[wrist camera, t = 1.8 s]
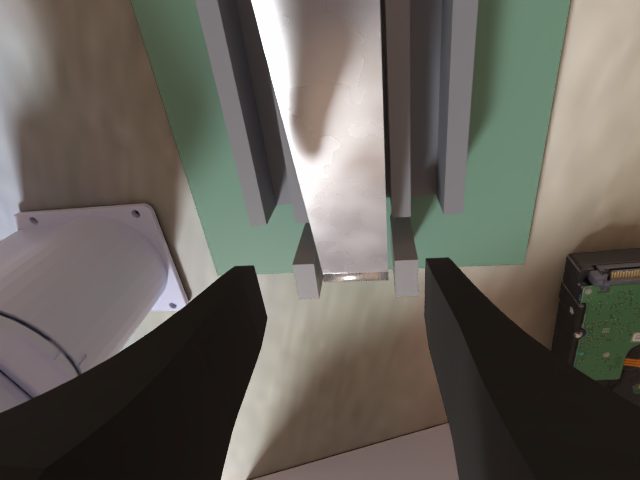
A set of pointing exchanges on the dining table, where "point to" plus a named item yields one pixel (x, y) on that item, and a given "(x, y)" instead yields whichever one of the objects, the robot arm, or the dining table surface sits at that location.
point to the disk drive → (602, 319)
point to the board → (399, 130)
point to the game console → (386, 460)
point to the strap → (333, 124)
